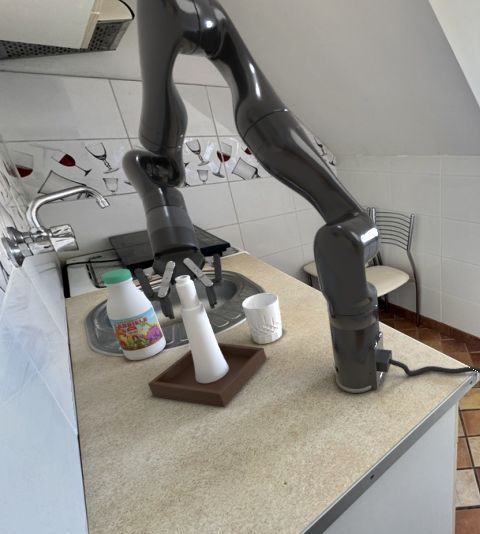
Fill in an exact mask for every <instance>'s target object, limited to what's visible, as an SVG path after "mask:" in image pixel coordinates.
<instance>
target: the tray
mask: <svg viewBox="0 0 480 534" xmlns="http://www.w3.org/2000/svg"><path fill="white" fill-rule="evenodd" d="M217 344H218V346H219V348H220V351H221V353H222V355H223V357H224V359H225V361H226V363H227V364H228V366H229V370H228V372H227V374H226V375H225V376H224V377H222V378H221V379H219V380H217V381H215V382H211V383H199V382H197V380H196V375H195V367H194V361H193V356H192V352H191V349H190V350H188V352H186V353H185V354H184V355H182V356H181V357H180V358H178V359H177V360H176V361H175V362H173V363H172V364H171V365H170V366H167V368H166V369H164V370H163V371H162V372H161V373H159V374H158V375H157V376H156V377H154V378H153V379H151V381H149V382H148V383H147V385H148V387H149V390H150V392H151V394H152V396H153V397H158V398H164V399H171V400H177V401H182V402H183V401H184V402H190V403H197V404H203V405H210V406H211V405H212V406H216V407H223V408H224V407H226V406H227V404H228V403H229V402H230V401H231V400H232V399H233V398H234V397H235V395H236V394H237V393H238V392H239V391H240V390H241V389H242V388H243V386H244V385H245V384H246V383H247V382H248V381H249V380H250V379H251V377H252V376H253V375H254V374H255V373H256V372H257V371H258V370H259V369H260V368H261V366H262V365H263V364H264V363H265V362H266V361H267V356H266V352H265V347H259V346H249V345H242V344H241V345H240V344H232V343H231V344H230V343H223V342H217Z"/></svg>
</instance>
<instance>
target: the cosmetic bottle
mask: <svg viewBox="0 0 480 534" xmlns="http://www.w3.org/2000/svg"><path fill="white" fill-rule="evenodd" d="M175 280H176V282H177V283H176V284H175V285H174V287H175V289H176V292H177V295H178V299H179V301H180V304H181V307H180V308H179V310H180V314H181V319H182V322H183V326H184V329H185V333H186V337H187V340H188V344H189V348H190V350H191V352H192V356H193V361H194V367H195V375H196V380H197V382H199V383H211V382H215V381H217V380H219V379H221V378H222V377H224V376H225V375H226V374H227V372H228V370H229V366H228V364H227V363H226V361H225V359H224V357H223V355H222V353H221V351H220V348H219V346H218V344H217V343H218V341H217V338H216V336H215V333H214V330H213V328H212V325H211V322H210V319H209V316H208V314H207V311H206V309H205V306H204V304H203V302H202V301H200V299H199V296H198V292H197V289H196V286H195V283H194V280H193V281H192V280H190V276H189V275H183V276H179V277H177V278H176V279H175Z"/></svg>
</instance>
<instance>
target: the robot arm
mask: <svg viewBox="0 0 480 534" xmlns="http://www.w3.org/2000/svg"><path fill="white" fill-rule="evenodd" d="M135 21H136V34H137V45H138V47H137V49H138V57H139V59H138V60H139V67H140V68H139V69H140V78H141V91H142V92H141V93H142V96H141V109H140V110H141V111H140V117H139V123H138V124H139V126H138V134H137V135H138V141H139V144H140V145H141V146H142V147H143V148H144V149H136V148H135V149H133V148H132V149H130V150H128V151H126V152H125V153H124V155H123V156H122V158H121V168H122V170H123V174H124V175H125V177H126V179H127V180H128V182H129V183H130V185H131V187H132V188H133V189H134V190H135V192H136V194H137V195H138V197H139V198H140V201H141V203H142V206H143V207H142V208H143V210H144V211H143V212H144V215H145V221H146V222H145V223H146V231H147V235H148V239H149V244H150V247H151V252H152V256H153V263H152V266H150V267H147V268H144V269H143V268H141V267H140V268H139V267H138V268H135V269H134V275H135V276H136V279H137V281H138V283H139V286H140V288H141V289H142V290H141V291H142V292H143V293H144V294H145V296H146V297H147V299H148V300H149V301H150V302H152V303H153V302H159V304H160V308H161V313H162V315H163V316H164V317H165V318H168V319H169V320H174V319H175V318H176V317H175V313H174V309H173V305H172V300H171V299H170V298H171V294H172V292H173V290H174V288H175V285H176V283H177V282H176V280H175V279H176V278H177V277H179V276H183V275H189V276H190V280H192V281H193V282H194V281H195V280H196V281H197V282H198V283H199V284H200V285H202V286H203V287H204V289H205V293H206V297H207V301H208V304H209V308H210V310H212V309H215V308H216V306H215V305H218V302H219V301H218V298H217V294H216V291H215V290H216V289H217V287H220V286H223V284H224V278H223V277H224V276H223V268H222V267H223V266H222V258H221V255H220V254H219V253H214V254H213V256H204V254H202V252H201V248H200V246H199V245H200V244H199V241H198V237H197V235H196V229H195V228H194V225H193V221H192V218H191V217H190V215H189V211H188V208H187V205H186V204H187V203H186V200H185V198H184V194H183V193H182V192H181V191H180V190H179V189H178V187H180V186H181V185H183V184H184V183H185V181H186V179H187V171H186V166H185V162H184V154H183V152H184V151H183V149H184V142H185V139H186V133H187V130H188V124H189V116H188V111H187V108H186V104H185V102H184V100H183V98H182V96H181V94H180V92H179V89H178V88H177V86H176V83H175V80H174V68H175V64H176V61H177V58H178V56H179V55H181V56H189V57H191V56H192V57H199V58H204V59H207V60H208V61H209V62H210V63H211V64H212V65H213V66H214V67H215V69H216V70H217V71H218V72H219V74H220V75H221V77H222V78H223V79H224V82H226V84H227V86H228V88H229V91H230V94H231V105H232V106H231V108H232V116H233V117H232V118H233V123H234V126H235V130H236V132H237V134H238V136H239V138H240V140H241V141H242V142H243V144H244V146H245V147H246V148H247V149H248V150H249V152H250V153H251V155H252V156H253V157H254V159H255V160H256V161H257V163H258V164H259V165H260V167H262V169H263V170H264V171H266V173H268V174H269V175H270V176H272V178H274V179H275V180H277V181H278V182H279V183H281V184H282V185H283V186H285V187H287V188H288V189H290V190H291V191H293V192H294V193H296V194H297V195H299V196H300V197H301V198H303V199H304V200H305V201H306V202H308V204H310V206H311V207H313V208H314V210H316V212H317V213H318V214H319V216H320V217H321V218H322V219H323V221H324V222H325V224H323V225H322V226H320V227H319V228H318V229H317V230H316V233H315V235H314V237H313V243H312V247H313V248H312V249H313V250H312V251H313V258H314V259H313V260H314V263H315V264H314V265H315V269H316V274H317V279H318V285H319V289H320V292H321V294H322V296H323V298H324V300H325V301H326V306H327V307H326V309H327V316H328V323H329V331H330V332H329V333H330V339H331V347H332V353H333V354H332V355H333V361H332V363H333V368H334V372H335V373H334V374H335V382H336V385H337V386H338V388H340V389H341V390H342V391H344V392H346V393H351V394H361V393H366V392H369V391H371V390H374V391H375V390H379V389H378V388H379V386H380V384H381V381H382V379H383V375H384V373H389V370H390V366H391V365H392V366H395V367H398V368H400V369H402V370H403V371H404V374H406V375H407V376H410V377H415V376H419V375H421V374H425V373H427V372H438V373H442V374H448V375H450V374H451V375H455V374H456V375H457V374H465V373H472V372H474V373H477V374H478V373H479V374H480V367H479V366H463V367H456V368H448V367H443V366H435V365H428V366H423V367H420V368H418V369H415V370H410V368H409V366H408V365H407V364H405V363H403V362H402V361H398V360H395V359H393V350H390V349H384V333H383V331H381V330H380V318H379V317H380V315H379V299H378V289H377V287H376V286H375V284H374V283H372V282H371V281H367V272H366V264H368V263H369V262H370V261H371V260H373V259H374V258H375V257H376V256H377V255H378V254H379V252H380V250H381V246H382V236H381V233H380V230H379V227H378V226H377V224H376V222H375V221H374V219H372V217H371V216H370V215H369V214H368V212H367V211H366V210H365V208H363V206H361V204H360V203H359V202H358V201H357V200H356V199H355V197H354V196H353V195H352V194H351V193H350V192H349V190H348V189H347V188H346V187H345V186H344V185H343V183H342V181H340V180H339V177H337V175H336V173H335V172H334V171H333V169H332V168H331V166H330V165H329V163H328V162H327V161H326V159H325V158H324V156H323V155H322V154H321V153H320V152H319V150H318V149H317V147H316V146H315V145H314V143H313V142H312V140H311V139H310V137H309V136H308V134H307V133H306V131H305V129H304V128H303V126H302V125H301V123H300V122H299V121H298V119H297V118H296V116H295V115H294V114H293V112H292V111H291V110H290V109H289V107H288V106H287V104H286V103H285V102H284V101H283V99H282V98H281V96H280V95H279V93H278V92H277V91H276V89H275V88H274V86H273V85H272V83H271V81H269V79H268V77H267V76H266V74H265V73H264V72H263V70H262V68H261V67H260V66H259V64H258V62H257V61H256V60H255V58H254V56H253V55H252V53H251V51H250V50H249V48H248V46H247V44H246V43H245V41H244V39H243V37H242V36H241V33H240V31H238V28H237V26H236V25H235V24H234V22H233V19H232V18H231V17H230V15H229V13H228V12H227V10H226V9H225V7H224V6H223V5H222V3H221V2H220V1H219V0H135ZM206 264H208V265H209V267H210V268H212V269H213V268H214V269H213V271H214V278H212V279H210V278H209V277H208V276H207V275H206V273H205V272H204V271H203V269H204V267H205V265H206ZM154 274H156V275H157V276H159V277H161V281H160V286H159V289H158V291H154V289H153V287H152V285H151V282H150V281H152V280H153V278H154V276H153V275H154ZM469 367H470V368H469ZM473 369H474V370H473ZM475 370H476V371H475ZM477 371H478V372H477Z"/></svg>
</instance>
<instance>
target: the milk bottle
mask: <svg viewBox="0 0 480 534" xmlns="http://www.w3.org/2000/svg"><path fill="white" fill-rule="evenodd" d="M101 279H102V281H103V283H104V286H105V287H106V288H107V300H106V313H107V317H108V319H109V322H110V326H111V327H112V329H113V332H114V334H115V337H116V338H117V341H118V343H119V346H120V348H121V349H122V353H123V354H124V357H125V358H126V359H128V360H130V361H141V360H144V359H145V360H146V359H148V358H151V357H153V356H155V355H157V354H158V353H160V352H162V351H163V350H164V348H165V347H166V345H167V341H166V337H165V336H164V332H163V330H162V327H161V324H160V322H159V319H158V317H157V314H156V311H155V310H154V307H153V304H152V303H151V301H149V300H148V299H147V297H146V296H145V294H144V292H143V291H142V290H140V288H138V286H136V285H135V283H134V282H133V277H132V273H131V271H130V269H128V268H119V269H114V270H110V271H107V272H105V273H103V274H102V275H101Z"/></svg>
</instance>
